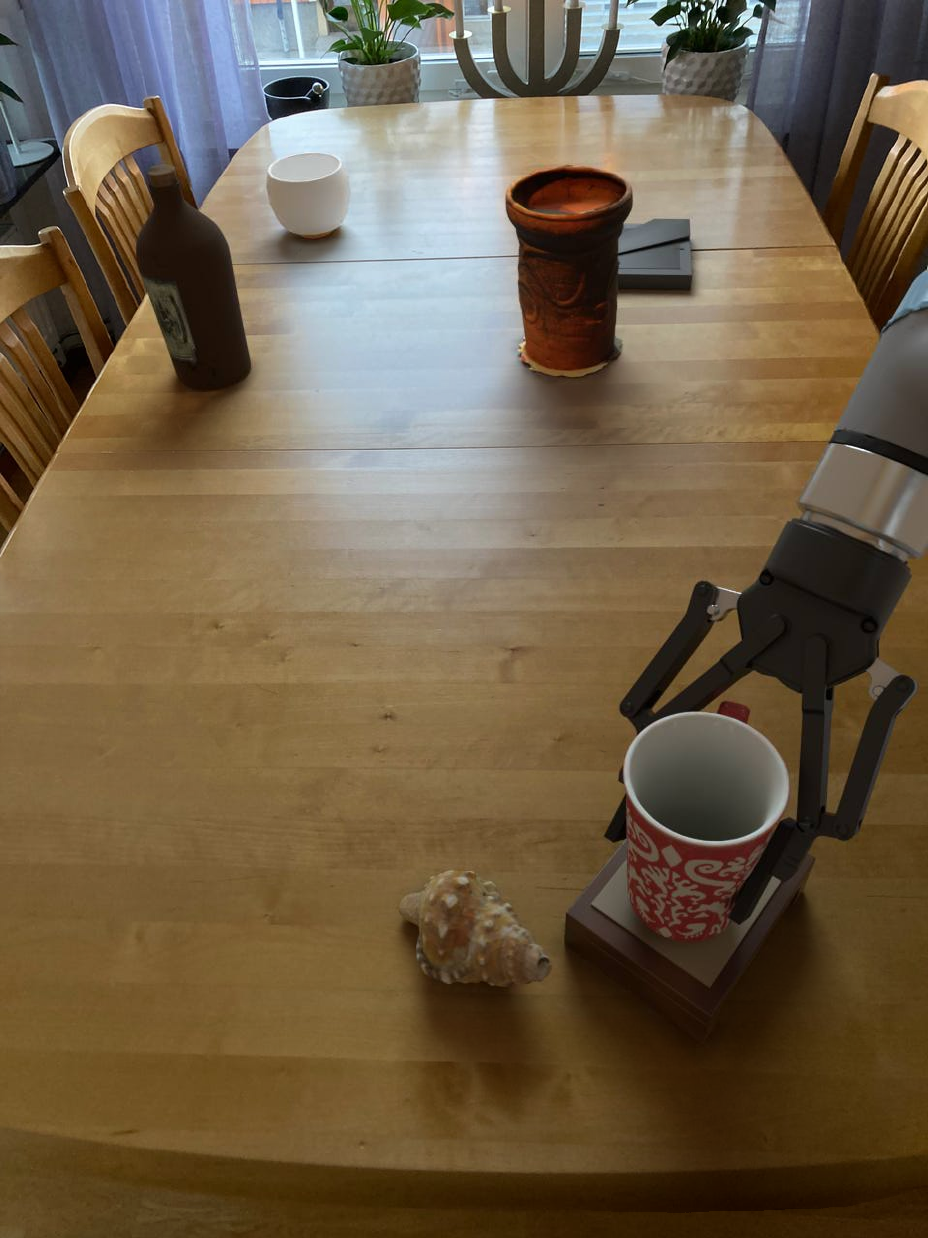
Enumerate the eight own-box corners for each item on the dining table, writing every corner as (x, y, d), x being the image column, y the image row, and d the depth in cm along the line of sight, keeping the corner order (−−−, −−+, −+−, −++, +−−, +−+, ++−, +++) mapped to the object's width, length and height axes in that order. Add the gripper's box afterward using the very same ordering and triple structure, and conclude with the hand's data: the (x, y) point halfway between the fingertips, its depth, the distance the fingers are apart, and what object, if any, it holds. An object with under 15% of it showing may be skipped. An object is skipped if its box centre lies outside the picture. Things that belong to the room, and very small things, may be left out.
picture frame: (687, 237, 142) (545, 236, 144) (689, 218, 140) (546, 217, 142) (690, 289, 131) (537, 287, 134) (692, 269, 129) (537, 267, 132)
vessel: (491, 335, 125) (485, 177, 111) (590, 310, 129) (597, 153, 114) (536, 390, 116) (536, 226, 102) (642, 362, 119) (657, 198, 105)
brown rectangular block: (803, 890, 69) (817, 856, 66) (702, 1045, 62) (711, 1016, 59) (671, 809, 75) (677, 773, 71) (563, 943, 68) (565, 911, 64)
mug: (728, 984, 59) (763, 872, 49) (591, 921, 62) (598, 805, 53) (787, 822, 66) (826, 698, 57) (661, 774, 70) (678, 649, 60)
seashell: (528, 917, 72) (583, 902, 64) (481, 1021, 69) (533, 1020, 60) (424, 853, 72) (465, 829, 63) (370, 954, 68) (406, 944, 59)
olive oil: (223, 340, 128) (172, 143, 110) (273, 367, 123) (228, 164, 105) (156, 375, 123) (91, 173, 105) (205, 404, 118) (146, 197, 100)
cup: (274, 219, 154) (261, 156, 147) (350, 209, 155) (342, 146, 148) (277, 253, 145) (264, 188, 138) (359, 242, 146) (350, 177, 139)
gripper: (1040, 623, 54) (846, 965, 58) (711, 485, 64) (562, 784, 68) (1043, 611, 48) (824, 997, 51) (677, 460, 58) (514, 791, 61)
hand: (675, 875), depth 59 cm, fingers closed on mug, 8 cm apart
